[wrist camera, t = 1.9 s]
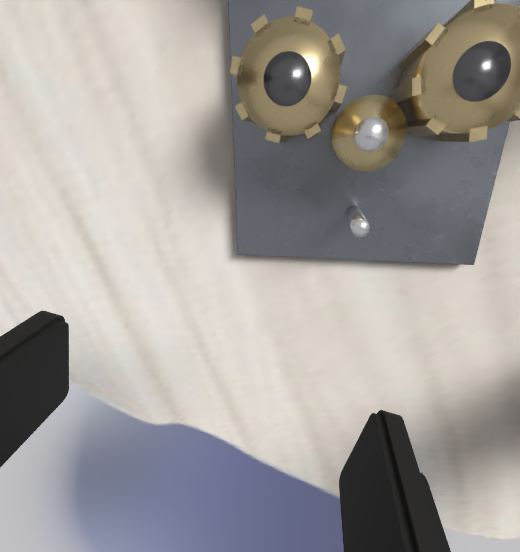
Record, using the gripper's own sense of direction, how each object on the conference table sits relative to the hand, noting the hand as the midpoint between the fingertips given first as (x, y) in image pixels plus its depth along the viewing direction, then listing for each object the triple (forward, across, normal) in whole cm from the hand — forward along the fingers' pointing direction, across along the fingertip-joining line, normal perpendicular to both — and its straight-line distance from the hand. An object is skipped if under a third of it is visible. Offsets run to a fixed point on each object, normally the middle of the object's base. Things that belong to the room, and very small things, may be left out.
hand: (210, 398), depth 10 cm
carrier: (+22, -4, -9) cm, 24 cm away
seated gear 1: (+21, +1, -10) cm, 23 cm away
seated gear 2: (+21, -9, -13) cm, 26 cm away
